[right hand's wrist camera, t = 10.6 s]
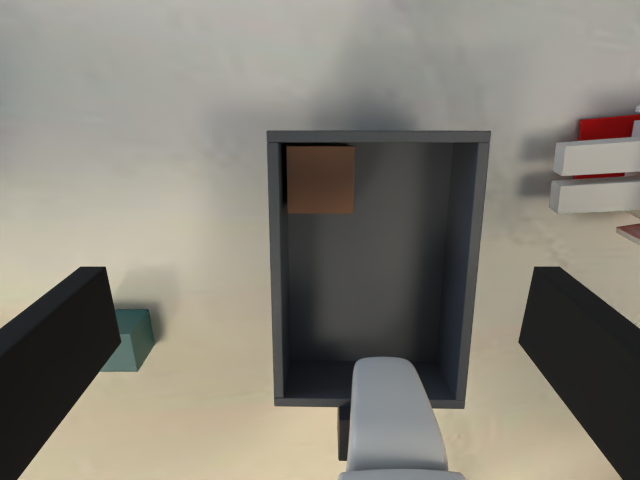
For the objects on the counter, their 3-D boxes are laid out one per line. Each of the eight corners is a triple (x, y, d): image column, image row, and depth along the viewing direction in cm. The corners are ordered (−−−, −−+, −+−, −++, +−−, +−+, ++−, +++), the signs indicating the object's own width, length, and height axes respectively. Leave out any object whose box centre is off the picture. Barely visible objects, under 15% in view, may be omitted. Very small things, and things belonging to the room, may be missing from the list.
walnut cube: (350, 204, 35) (353, 213, 31) (292, 203, 36) (287, 213, 31) (351, 145, 34) (354, 146, 29) (292, 145, 34) (286, 146, 30)
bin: (439, 398, 41) (467, 463, 32) (283, 396, 41) (272, 460, 33) (460, 133, 35) (501, 129, 26) (278, 132, 35) (262, 129, 27)
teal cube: (154, 344, 50) (137, 371, 45) (114, 344, 50) (93, 371, 45) (148, 309, 48) (130, 333, 43) (106, 309, 48) (83, 333, 43)
